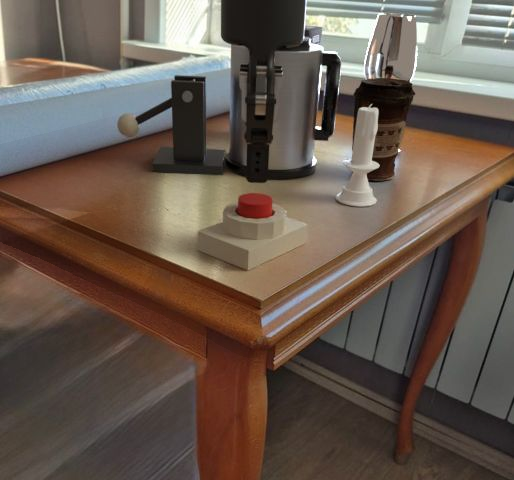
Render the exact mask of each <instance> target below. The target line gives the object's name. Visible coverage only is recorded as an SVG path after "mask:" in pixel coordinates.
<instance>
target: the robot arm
mask: <svg viewBox="0 0 514 480" xmlns="http://www.w3.org/2000/svg"><path fill="white" fill-rule="evenodd" d="M306 14H307V0H220V37H221V40H222V41H223V42H225V43H226V44H228V45H231V44H232V45H237V46H245V47H247V48H248V50H249V62H248V64H241V63H240V77H239V86H240V89H241V90H242V111H241V117H242V120H243V121H245V125H246V131H245V134H244V139H245V141H246V145H247V161H246V176H245V180H246V181H247V182H248V183H249V184H251V183H252V184H266V183H267V182H268V180H269V179H268V165H269V146H271V142H272V140H273V134H272V130H273V123H274V122H276V120H277V118H278V100H279V92H280V90H281V89H282V79H283V69H282V65H274V61H275V52H276V50H277V49H278V48H280V47H283V48H289V47H296V46H299V45H300V44H301V43H302V42H303V40H304V30H305V26H306Z"/></svg>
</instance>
